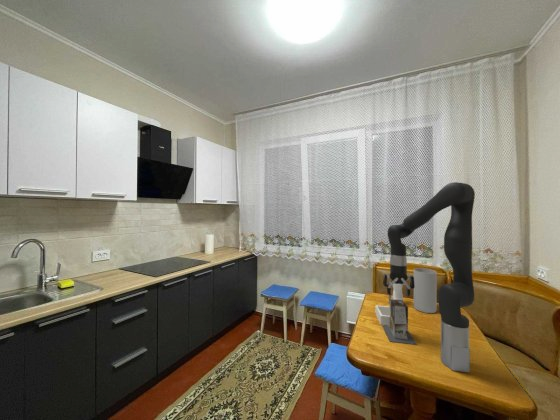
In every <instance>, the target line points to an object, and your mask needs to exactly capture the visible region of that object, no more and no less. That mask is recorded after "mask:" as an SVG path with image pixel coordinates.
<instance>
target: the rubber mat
mask: <svg viewBox="0 0 560 420" xmlns="http://www.w3.org/2000/svg"><path fill="white" fill-rule="evenodd" d="M381 326H382V329H383V331H384V333H385V335H386V336H387V339H388V341H389V342H390V343H398V344H405V345H415V346H417V345H418V342H416V340H415V339H414V337H413V336H412V334H411V333H410V331H409V330H408V339H407V340H406V339H399V338H394V336H393V334H392V332H391V330H390V326H388V325H381Z"/></svg>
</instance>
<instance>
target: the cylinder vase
mask: <svg viewBox="0 0 560 420" xmlns="http://www.w3.org/2000/svg"><path fill="white" fill-rule="evenodd" d="M437 275H438V273H437V271H436V270H433V269H430V268H423V267H417V268H413V277H414V286H415V288H413V308H414V309H415V310H416V311H419V312H420V313H425V314H426V313H427V314H434V313H436V312H437V309H438V308H437V306H438V305H437V304H438V303H437V301H438V292H437V291H438V290H437V288H438V287H437V286H438V285H437V284H438V282H437V281H438V276H437Z"/></svg>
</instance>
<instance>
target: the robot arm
mask: <svg viewBox="0 0 560 420" xmlns="http://www.w3.org/2000/svg"><path fill="white" fill-rule="evenodd" d="M475 193H476V192H475V189H474V188H473V186H471V185H470V184H468V183H464V182H457V181H456V182H450V183H447V184H446V185H444V186H443V187H442V188H441V189H440V190H438V192H437V193H436V194H435V195H434V196H433V197H432V198H431V199H429V200H428V201H427V202H425V204H424V205H422V206H421V207H419V208H417V210H415V211H414V212H412V213H410V214H408V215H407V216H406V217H405V218H404V219H403V221H402V223H401V224H392V225H390V226H388V229H387V238H388V241H389V242H388V243H389V245H390V257H389V258H390V259H389V263H390V267H389V268H390V269H389V270H390V272H389V274H386V273H384V274H383V279H382V280H383V281H382V285H383V286H384V287H386V293H387V295H388V296H389V295H391V296H392V287H393V284H394V283H395V284H403V286H405V287H406V288H405V295H406V297H410V296H411V289H414V288H415V286H414V275H413V274H412V275H407V274H408V273H407V272H408V269H407V268H408V267H407V266H408V260H407V247H406V243H403V242H402V239H406V238H407V237H409V236H410V235H411V234H412V233H414V231H416V230H417V229H420V228H421V227H422V226H424V225H426V224H427V223H429V221H430V220H432V218H433V217H434V216H435V215H437V214H438V213H439V212H441V211H443V210H444V209H446V208H449V207H451V208H450V211H451V212H450V214H451V216H450V219H449V222H448V224H447V226H446V229H445V231H444V235H443V251H444V252H443V253H444V255H445V257H446V259H447V260H448V262H449V264H450V266H451V268H452V271H453V272H452V273H453V275H452V276H453V279H452V283H446V284H445V283H443V284H442V285H440V286H439V288H438V290H437V291H438V292H437V301H438V303H437V304H438V313H439V315H440V361H441V363H442V364H443V365H444V366H446V367H447V368H448V369H451V371H453V372H454V371H455V372H461V373H462V372H463V373H470V372H471V371H470V368H471V367H470V364H471V363H470V362H471V356H470V355H471V353H470V352H471V349H470V320H469V318H468V317H467V316H466V315H464V314H462V311H461V310H462V309H461V308H465V307H469V306H472V305H473V303H474V301H475V289H474V280H473V262H472V261H473V260H472V259H473V257H472V256H473V209H474V204H475V198H476V197H475V196H476V194H475ZM388 279H390V280H389V281H388ZM407 280H409V284H410V285H409V284H408V282H407Z"/></svg>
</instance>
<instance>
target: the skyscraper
mask: <svg viewBox="0 0 560 420" xmlns="http://www.w3.org/2000/svg"><path fill="white" fill-rule="evenodd" d="M403 286H404V283H403V284H395V283H394V284H393V285H392V288H393V292H392V294H391V295H389V294H388V303H390V299H391V300H402V301H403V302H404V296H403Z"/></svg>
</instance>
